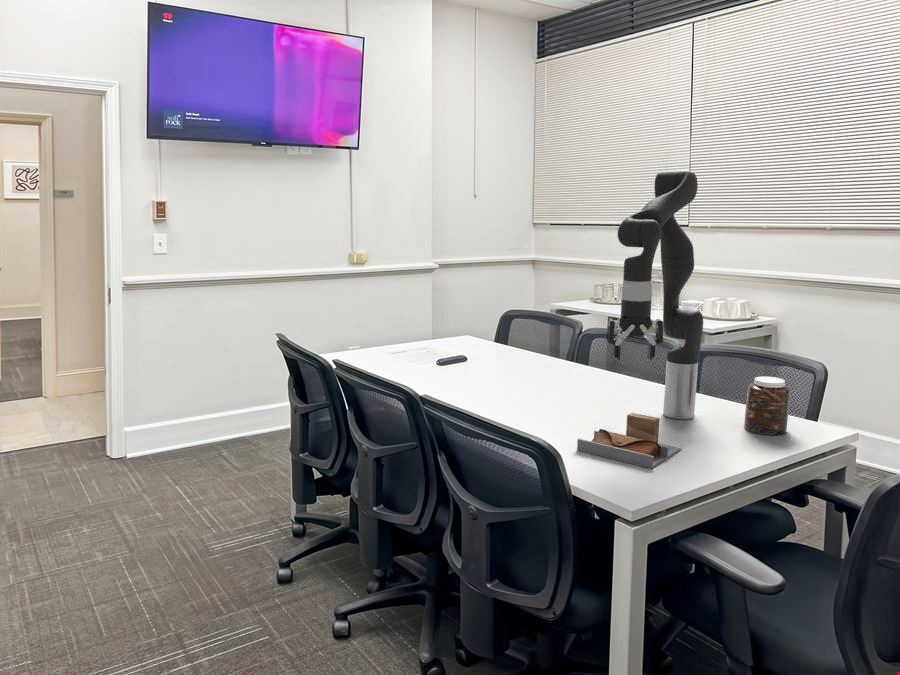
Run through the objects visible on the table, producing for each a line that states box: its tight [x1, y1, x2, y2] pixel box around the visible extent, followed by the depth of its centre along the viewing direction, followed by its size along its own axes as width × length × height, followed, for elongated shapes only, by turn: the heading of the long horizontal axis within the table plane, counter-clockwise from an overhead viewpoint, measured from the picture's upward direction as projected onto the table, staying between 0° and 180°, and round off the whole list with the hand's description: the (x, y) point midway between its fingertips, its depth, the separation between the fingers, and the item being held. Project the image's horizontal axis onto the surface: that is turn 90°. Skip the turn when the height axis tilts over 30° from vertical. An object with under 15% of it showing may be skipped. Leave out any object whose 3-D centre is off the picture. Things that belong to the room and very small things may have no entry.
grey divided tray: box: [576, 412, 682, 469], centre depth 196 cm, size 18×21×8 cm
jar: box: [743, 376, 791, 436], centre depth 216 cm, size 12×12×15 cm
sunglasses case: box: [590, 428, 661, 460], centre depth 194 cm, size 18×7×7 cm, turn 51°
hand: (633, 359), depth 194 cm, fingers open, 8 cm apart
